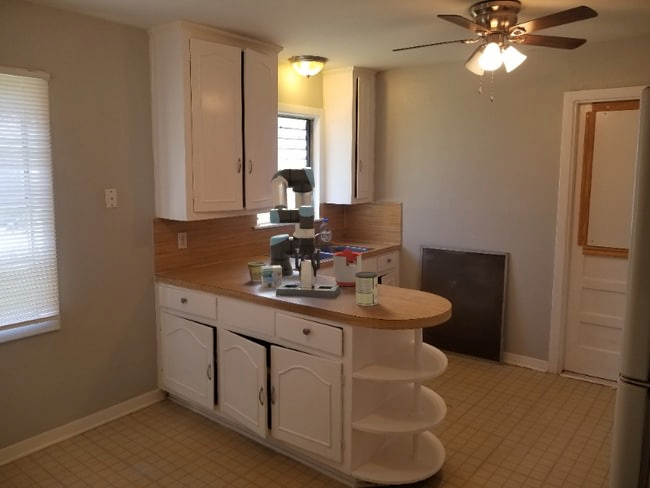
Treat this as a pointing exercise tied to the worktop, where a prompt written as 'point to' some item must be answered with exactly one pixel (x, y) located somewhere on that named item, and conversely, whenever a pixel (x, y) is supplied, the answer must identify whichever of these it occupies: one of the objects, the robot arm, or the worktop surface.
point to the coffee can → (366, 288)
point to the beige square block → (307, 274)
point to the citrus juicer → (346, 267)
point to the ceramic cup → (255, 270)
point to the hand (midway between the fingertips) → (307, 282)
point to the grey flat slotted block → (308, 290)
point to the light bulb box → (271, 276)
